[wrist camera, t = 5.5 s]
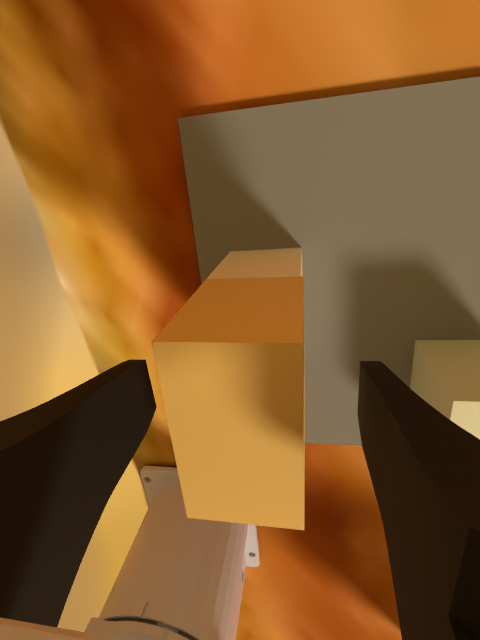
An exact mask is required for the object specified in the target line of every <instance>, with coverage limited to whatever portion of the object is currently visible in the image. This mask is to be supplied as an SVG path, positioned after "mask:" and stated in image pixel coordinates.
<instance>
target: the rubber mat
mask: <svg viewBox="0 0 480 640" xmlns="http://www.w3.org/2000/svg"><path fill="white" fill-rule="evenodd" d="M178 125H179V132H180V139H181V146H182V153H183V160H184V167H185V174H186V181H187V188H188V195H189V202H190V209H191V216H192V223H193V230H194V236H195V243H196V250H197V257H198V264H199V271H200V278H201V285H202V283H203V282H204V281H205V280H206V279H207V278H208V276H209V275H210V274H211V273H212V272H213V271H214V270H215V268H216V267H217V266H218V265H219V264H220V263H221V262H222V260H223V259H224V258H225V257H226V256H227V255H228V254H229V252H230V251H248V250H265V249H283V248H300V247H302V276H304V377H305V443H323V444H343V445H362V443H361V436H360V429H359V422H358V415H357V413H358V393H359V372H360V361H381V362H383V363H384V364H385V365H386V366H387V367H388V368H389V369H390V370H391V371H392V372H393V373H394V374H395V375H396V376H397V377H398V378H400V379H401V380H402V381H403V382H404V383H405V384H406V385H407V386H408V387H409V388H410V382H411V374H412V365H413V357H414V348H415V340H480V76H479V77H472V78H465V79H457V80H450V81H443V82H436V83H428V84H421V85H414V86H407V87H399V88H392V89H385V90H377V91H370V92H363V93H356V94H348V95H341V96H334V97H327V98H319V99H312V100H305V101H297V102H290V103H283V104H276V105H268V106H261V107H254V108H247V109H239V110H232V111H225V112H218V113H210V114H203V115H196V116H188V117H181V118H178Z"/></svg>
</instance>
